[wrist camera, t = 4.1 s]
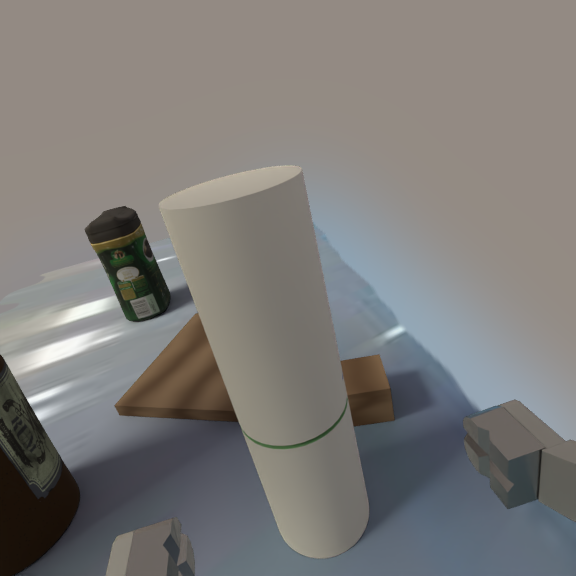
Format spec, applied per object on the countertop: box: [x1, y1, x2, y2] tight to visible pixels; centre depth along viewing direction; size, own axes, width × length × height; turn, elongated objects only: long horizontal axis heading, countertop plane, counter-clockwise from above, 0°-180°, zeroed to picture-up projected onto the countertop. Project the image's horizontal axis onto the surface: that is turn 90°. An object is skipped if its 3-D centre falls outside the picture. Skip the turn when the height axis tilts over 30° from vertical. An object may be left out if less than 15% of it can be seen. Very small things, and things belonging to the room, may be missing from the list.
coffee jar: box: [85, 206, 170, 321], centre depth 67 cm, size 10×8×19 cm
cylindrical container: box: [159, 165, 369, 559], centre depth 24 cm, size 7×7×25 cm
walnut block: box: [340, 355, 395, 426], centre depth 37 cm, size 5×5×4 cm
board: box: [115, 313, 239, 422], centre depth 50 cm, size 20×20×2 cm
